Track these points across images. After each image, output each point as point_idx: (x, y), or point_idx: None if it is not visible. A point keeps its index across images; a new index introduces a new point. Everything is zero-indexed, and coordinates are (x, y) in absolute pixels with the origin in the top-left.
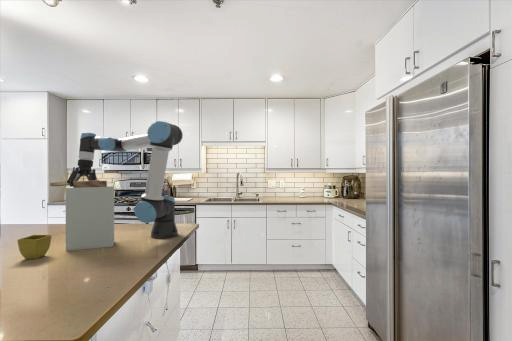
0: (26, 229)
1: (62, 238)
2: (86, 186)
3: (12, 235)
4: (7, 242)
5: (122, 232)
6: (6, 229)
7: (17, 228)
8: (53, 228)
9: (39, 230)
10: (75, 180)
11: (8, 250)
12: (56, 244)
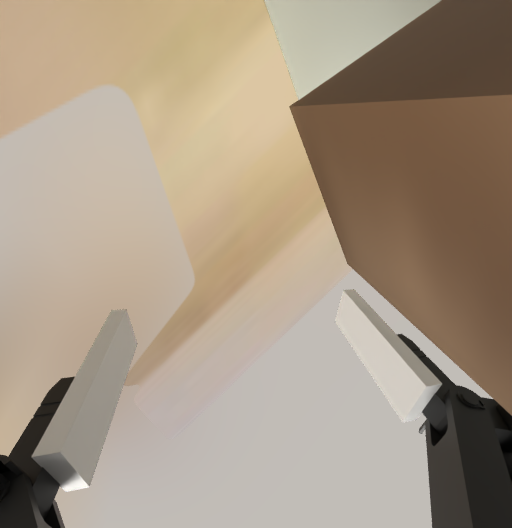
0: (167, 409)
1: (229, 256)
2: None
3: (227, 377)
4: (284, 329)
5: (19, 63)
6: (182, 429)
7: (166, 426)
8: (128, 382)
9: (164, 383)
10: (505, 465)
11: (349, 266)
12: (299, 208)
